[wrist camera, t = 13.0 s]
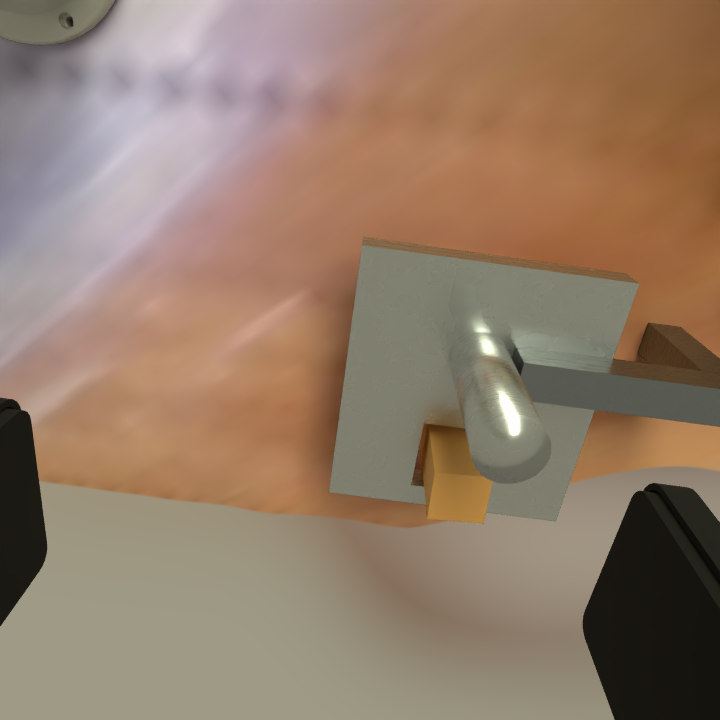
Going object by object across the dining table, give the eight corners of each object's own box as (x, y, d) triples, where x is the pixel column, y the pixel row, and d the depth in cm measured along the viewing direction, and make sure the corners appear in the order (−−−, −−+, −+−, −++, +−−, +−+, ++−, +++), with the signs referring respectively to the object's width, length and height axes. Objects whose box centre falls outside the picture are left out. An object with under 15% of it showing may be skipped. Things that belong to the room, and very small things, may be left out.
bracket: (485, 331, 43) (514, 399, 34) (492, 301, 42) (524, 362, 33) (669, 356, 44) (747, 430, 34) (680, 327, 43) (765, 395, 33)
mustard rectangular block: (422, 379, 45) (434, 472, 34) (467, 383, 45) (493, 477, 34) (416, 418, 47) (427, 518, 36) (460, 422, 47) (483, 523, 36)
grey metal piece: (337, 430, 48) (313, 609, 31) (365, 216, 40) (354, 305, 24) (529, 455, 48) (604, 645, 32) (593, 248, 40) (735, 357, 24)
